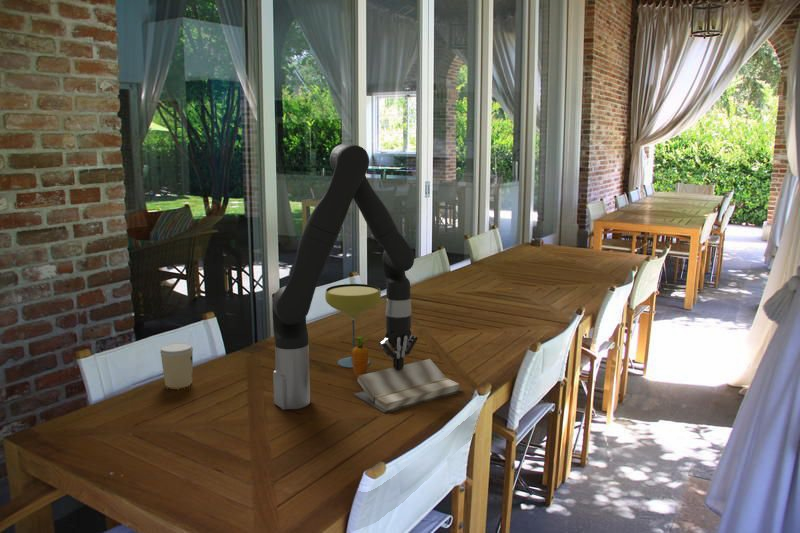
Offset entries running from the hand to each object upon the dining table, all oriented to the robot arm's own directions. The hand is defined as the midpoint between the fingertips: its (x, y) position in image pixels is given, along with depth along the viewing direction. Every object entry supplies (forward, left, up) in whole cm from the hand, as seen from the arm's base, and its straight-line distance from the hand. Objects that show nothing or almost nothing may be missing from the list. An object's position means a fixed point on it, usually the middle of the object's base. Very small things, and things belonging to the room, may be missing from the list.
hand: (398, 369), depth 198 cm
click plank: (0, -2, -3) cm, 4 cm away
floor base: (0, -5, -6) cm, 8 cm away
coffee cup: (-53, +40, -6) cm, 67 cm away
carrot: (-7, +10, -6) cm, 14 cm away
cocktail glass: (+1, +27, -6) cm, 28 cm away
